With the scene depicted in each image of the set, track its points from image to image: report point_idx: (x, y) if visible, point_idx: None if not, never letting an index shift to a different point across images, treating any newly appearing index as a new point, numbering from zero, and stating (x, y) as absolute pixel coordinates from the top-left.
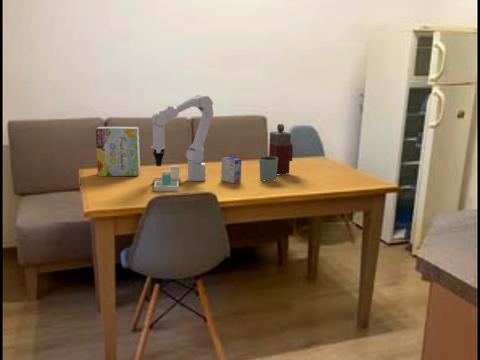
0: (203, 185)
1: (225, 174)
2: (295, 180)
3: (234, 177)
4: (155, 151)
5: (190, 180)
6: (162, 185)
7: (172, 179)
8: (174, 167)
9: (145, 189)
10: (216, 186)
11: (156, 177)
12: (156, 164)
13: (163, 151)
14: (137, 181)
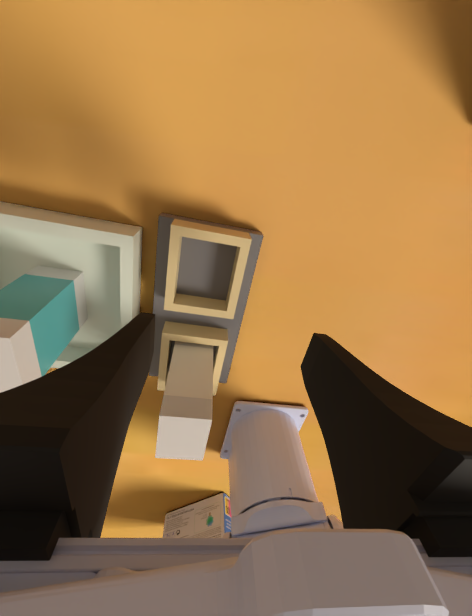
0: (143, 442)
1: (201, 531)
2: None
3: None
4: (407, 445)
5: (231, 413)
6: (26, 273)
7: (167, 351)
8: (158, 430)
9: (23, 131)
10: (124, 473)
11: (243, 261)
12: (131, 320)
13: (346, 522)
14: (312, 93)
